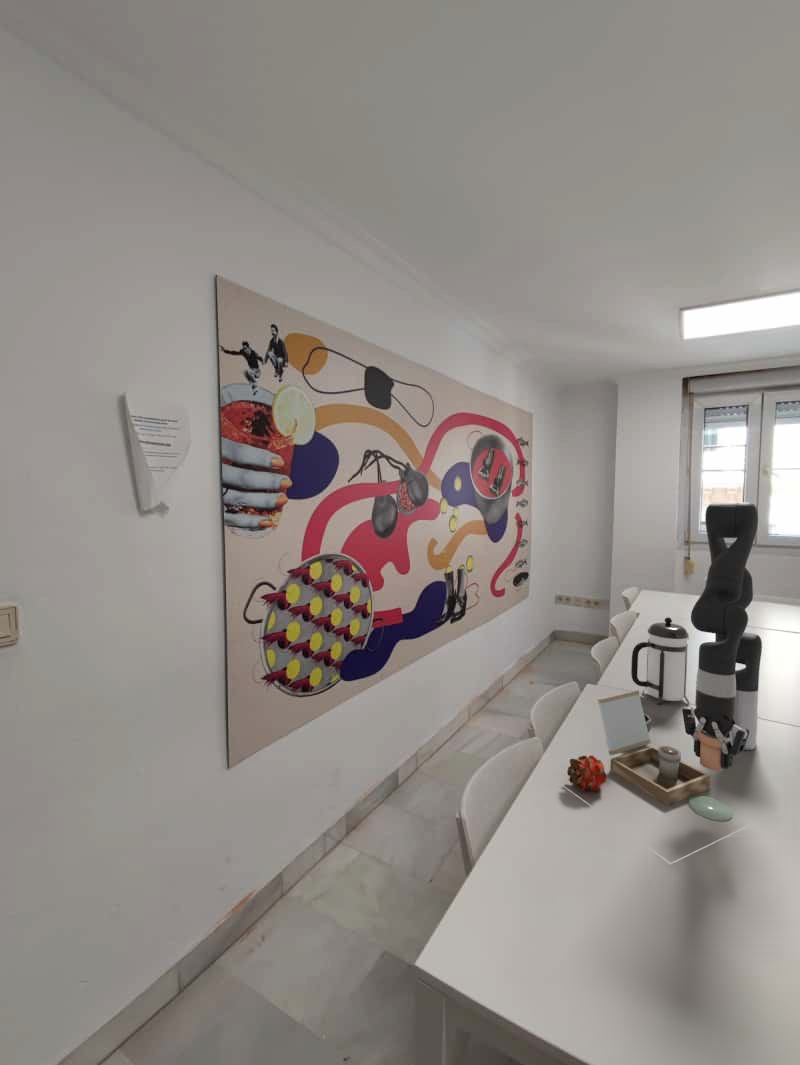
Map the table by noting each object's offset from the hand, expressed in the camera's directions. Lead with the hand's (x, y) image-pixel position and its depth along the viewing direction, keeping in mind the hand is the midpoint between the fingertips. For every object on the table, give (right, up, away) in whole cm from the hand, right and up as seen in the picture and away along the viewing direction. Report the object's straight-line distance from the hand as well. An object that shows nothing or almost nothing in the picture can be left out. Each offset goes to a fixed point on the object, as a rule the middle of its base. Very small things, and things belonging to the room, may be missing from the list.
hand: (712, 761), depth 110 cm
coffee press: (+23, -8, +63) cm, 67 cm away
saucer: (0, -12, +1) cm, 12 cm away
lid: (-10, +1, +21) cm, 23 cm away
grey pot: (-2, -10, +14) cm, 18 cm away
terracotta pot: (0, -1, 0) cm, 1 cm away
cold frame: (-7, -11, +15) cm, 20 cm away
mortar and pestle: (-1, -10, +34) cm, 36 cm away
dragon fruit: (-25, -11, +10) cm, 29 cm away
